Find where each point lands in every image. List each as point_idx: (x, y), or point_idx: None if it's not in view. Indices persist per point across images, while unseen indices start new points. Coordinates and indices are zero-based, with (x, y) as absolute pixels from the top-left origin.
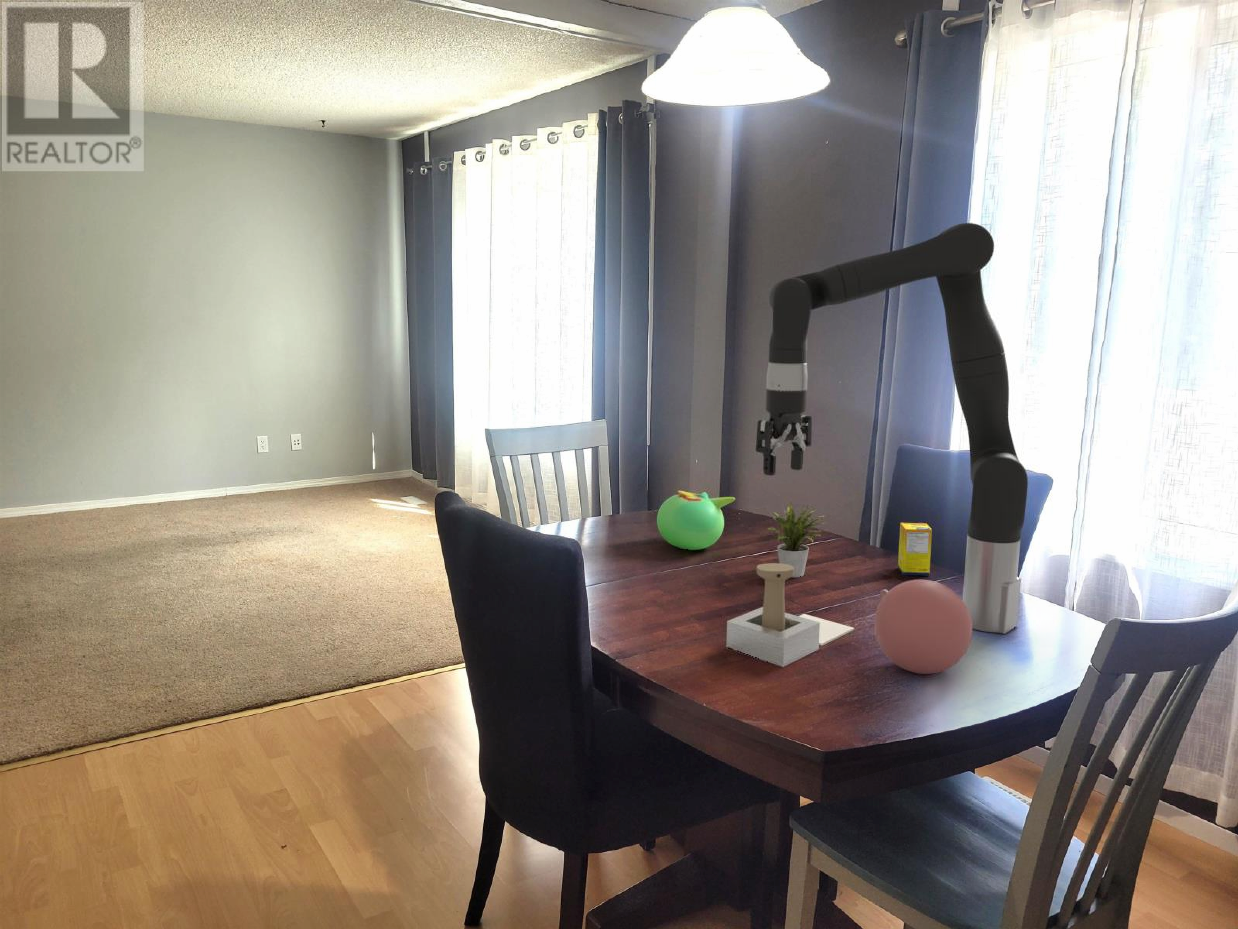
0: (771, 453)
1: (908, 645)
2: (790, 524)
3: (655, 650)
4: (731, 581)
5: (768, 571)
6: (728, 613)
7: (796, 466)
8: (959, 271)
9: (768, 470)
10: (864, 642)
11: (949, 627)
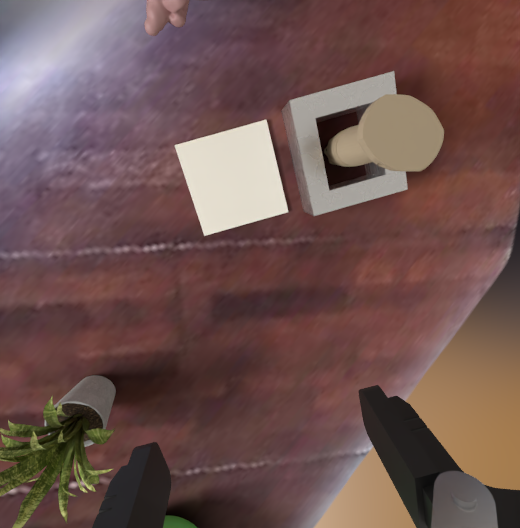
0: (484, 489)
1: None
2: (62, 462)
3: (460, 228)
4: (205, 398)
5: (437, 118)
6: (295, 294)
7: (157, 469)
8: None
9: (408, 407)
10: (197, 94)
11: None
